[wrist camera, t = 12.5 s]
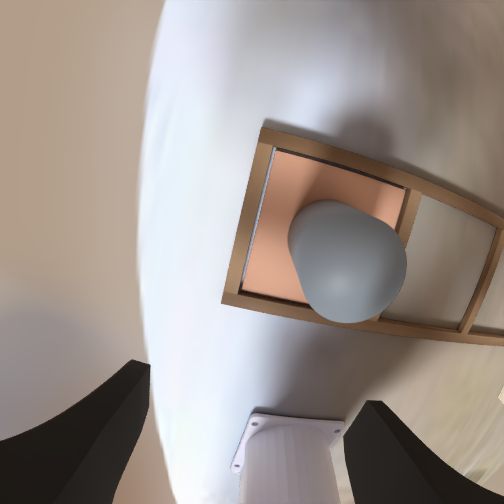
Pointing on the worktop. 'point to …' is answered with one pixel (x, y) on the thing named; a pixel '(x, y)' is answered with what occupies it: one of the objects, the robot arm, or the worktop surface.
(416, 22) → the worktop surface
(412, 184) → the board
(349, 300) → the grey rounded cylinder
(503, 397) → the die
